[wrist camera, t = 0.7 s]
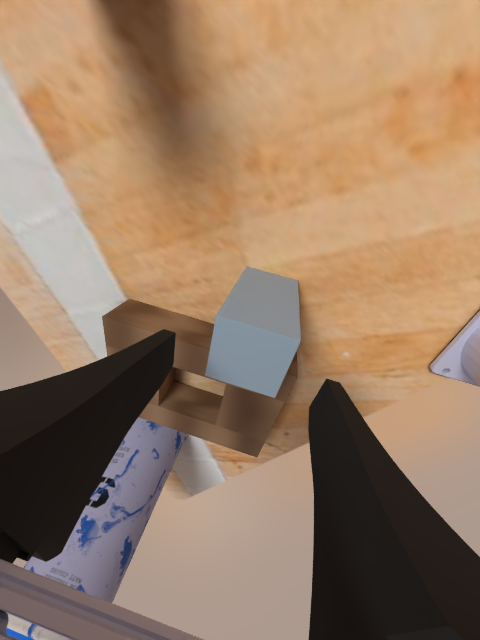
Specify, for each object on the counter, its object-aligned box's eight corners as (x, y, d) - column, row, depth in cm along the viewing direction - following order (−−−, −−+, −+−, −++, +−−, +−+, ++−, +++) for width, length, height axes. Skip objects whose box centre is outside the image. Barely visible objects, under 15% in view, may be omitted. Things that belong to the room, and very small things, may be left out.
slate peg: (297, 280, 17) (301, 340, 10) (281, 324, 19) (274, 398, 12) (247, 266, 17) (216, 315, 10) (236, 310, 19) (205, 375, 12)
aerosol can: (169, 401, 27) (-37, 749, 10) (197, 441, 30) (76, 759, 13) (122, 407, 30) (-101, 689, 13) (153, 443, 33) (5, 710, 16)
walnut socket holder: (296, 349, 20) (297, 377, 17) (261, 427, 26) (257, 457, 23) (129, 298, 21) (102, 316, 18) (134, 385, 27) (114, 409, 24)
